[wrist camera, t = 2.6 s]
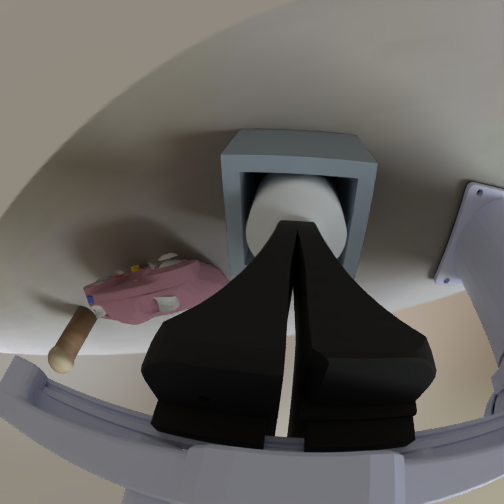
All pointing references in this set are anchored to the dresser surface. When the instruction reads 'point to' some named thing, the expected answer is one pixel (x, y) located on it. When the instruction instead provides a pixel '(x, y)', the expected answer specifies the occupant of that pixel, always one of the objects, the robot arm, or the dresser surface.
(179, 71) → the dresser surface
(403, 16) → the dresser surface
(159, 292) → the video game controller
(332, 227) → the dome
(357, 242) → the hollow square tube
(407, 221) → the dresser surface
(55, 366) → the post
